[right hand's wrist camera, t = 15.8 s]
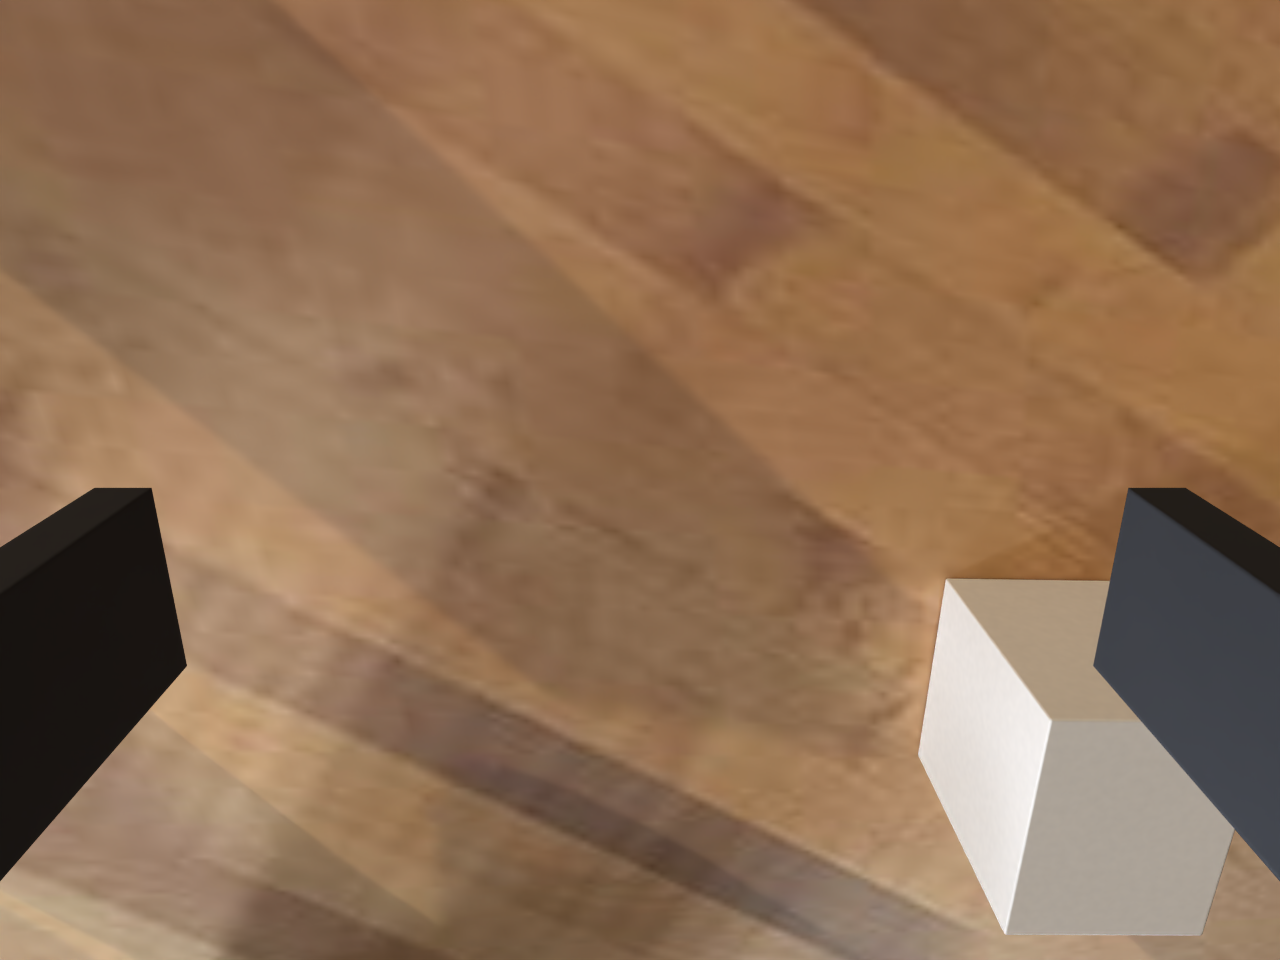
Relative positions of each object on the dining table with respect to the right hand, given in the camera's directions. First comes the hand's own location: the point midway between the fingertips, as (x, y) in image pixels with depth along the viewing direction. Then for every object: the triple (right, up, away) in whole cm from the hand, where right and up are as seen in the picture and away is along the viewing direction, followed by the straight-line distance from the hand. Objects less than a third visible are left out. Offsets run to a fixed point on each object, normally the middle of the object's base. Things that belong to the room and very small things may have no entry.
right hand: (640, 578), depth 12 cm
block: (+16, -7, +28) cm, 33 cm away
